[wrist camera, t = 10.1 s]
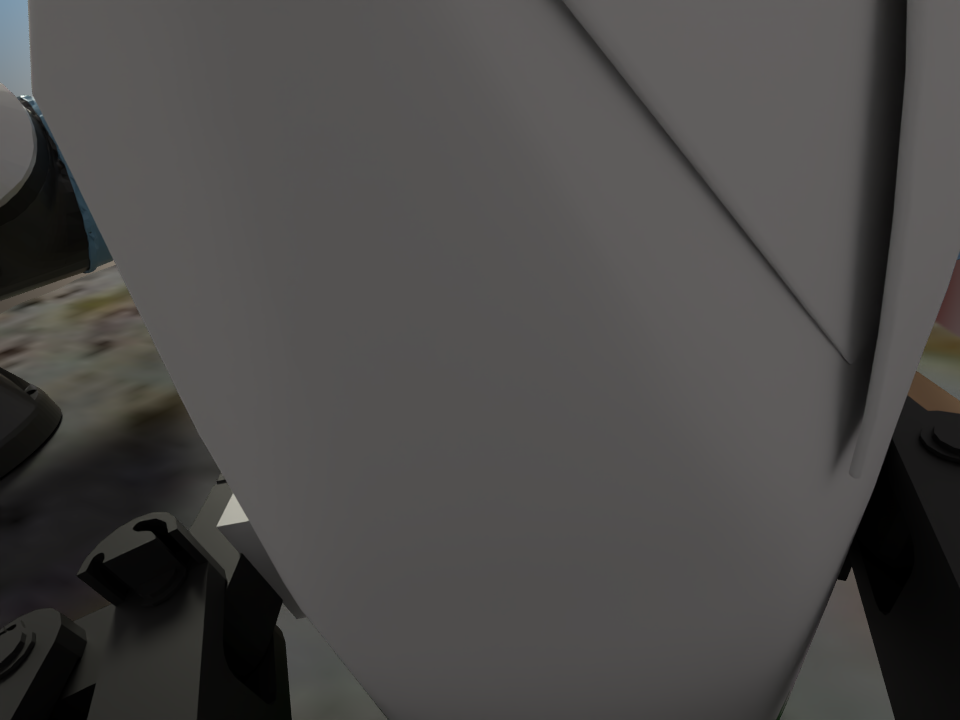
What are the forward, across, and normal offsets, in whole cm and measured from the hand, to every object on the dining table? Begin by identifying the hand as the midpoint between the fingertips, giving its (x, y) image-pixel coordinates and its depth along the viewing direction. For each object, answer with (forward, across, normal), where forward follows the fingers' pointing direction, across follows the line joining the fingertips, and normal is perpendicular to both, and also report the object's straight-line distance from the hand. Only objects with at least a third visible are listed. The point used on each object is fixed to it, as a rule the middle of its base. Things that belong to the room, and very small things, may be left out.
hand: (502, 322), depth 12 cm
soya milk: (-5, 0, -11) cm, 12 cm away
